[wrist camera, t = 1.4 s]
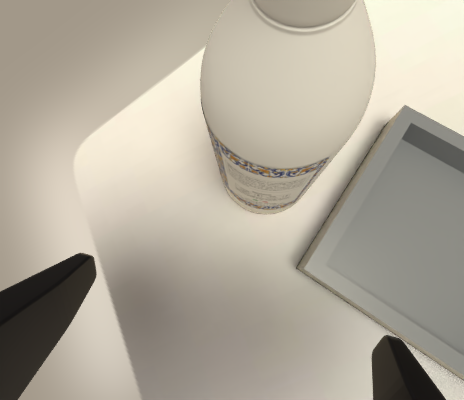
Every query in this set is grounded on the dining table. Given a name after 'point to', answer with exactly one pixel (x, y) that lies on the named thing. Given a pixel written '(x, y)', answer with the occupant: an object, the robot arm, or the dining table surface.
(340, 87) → the bath foam
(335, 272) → the grey square tray
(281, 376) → the dining table surface
